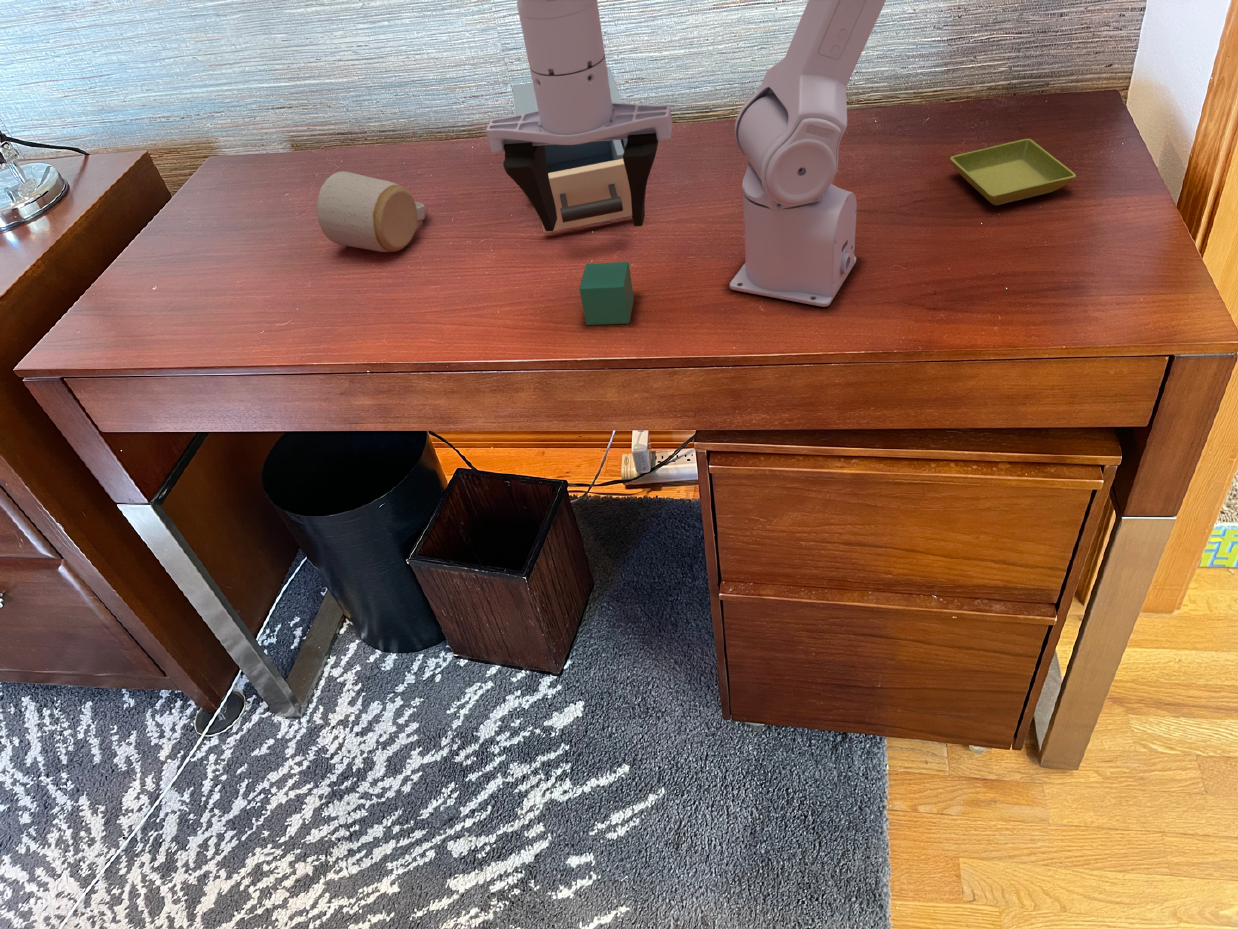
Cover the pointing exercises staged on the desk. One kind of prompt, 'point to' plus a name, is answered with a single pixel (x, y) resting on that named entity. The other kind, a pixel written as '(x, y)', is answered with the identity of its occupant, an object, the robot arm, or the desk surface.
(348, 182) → the ceramic mug
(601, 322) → the green cube
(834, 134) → the robot arm
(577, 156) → the drawer
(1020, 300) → the desk surface
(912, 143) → the desk surface
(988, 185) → the olive green square dish
